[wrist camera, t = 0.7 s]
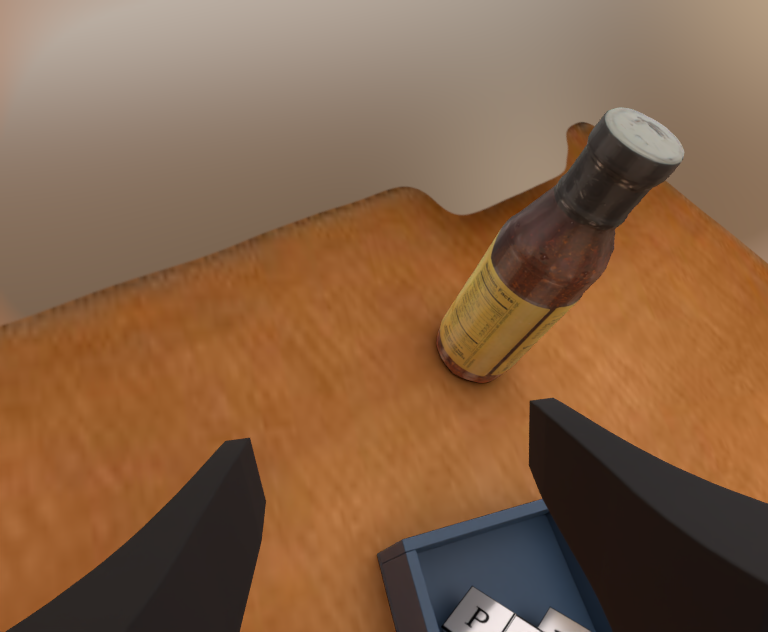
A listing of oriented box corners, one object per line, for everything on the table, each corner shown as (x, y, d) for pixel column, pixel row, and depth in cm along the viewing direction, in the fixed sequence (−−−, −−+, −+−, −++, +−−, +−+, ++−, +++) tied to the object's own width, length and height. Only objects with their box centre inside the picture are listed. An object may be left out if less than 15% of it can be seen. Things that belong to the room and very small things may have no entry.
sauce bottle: (495, 322, 40) (682, 109, 24) (512, 390, 36) (743, 193, 21) (422, 313, 38) (574, 77, 22) (432, 384, 34) (620, 163, 19)
